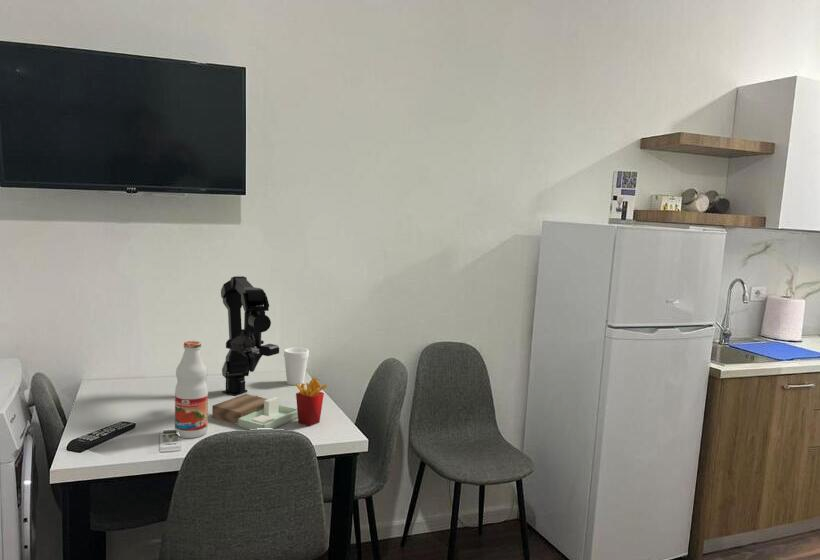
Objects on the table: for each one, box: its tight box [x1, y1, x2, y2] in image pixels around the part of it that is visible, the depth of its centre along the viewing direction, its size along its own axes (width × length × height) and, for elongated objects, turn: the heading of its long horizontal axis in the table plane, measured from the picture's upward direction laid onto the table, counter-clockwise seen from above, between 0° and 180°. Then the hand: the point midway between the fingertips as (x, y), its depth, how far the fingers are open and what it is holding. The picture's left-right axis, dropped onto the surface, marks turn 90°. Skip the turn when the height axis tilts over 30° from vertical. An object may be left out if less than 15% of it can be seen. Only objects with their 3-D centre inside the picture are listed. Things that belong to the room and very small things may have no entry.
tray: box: [237, 403, 298, 430], centre depth 214 cm, size 11×19×2 cm, turn 153°
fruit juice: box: [174, 340, 209, 439], centre depth 198 cm, size 9×9×28 cm
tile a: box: [264, 396, 280, 417], centre depth 219 cm, size 5×5×2 cm
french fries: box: [295, 377, 328, 427], centre depth 214 cm, size 9×8×15 cm
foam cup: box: [283, 347, 310, 386], centre depth 258 cm, size 10×9×13 cm
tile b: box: [251, 415, 274, 424], centre depth 209 cm, size 5×5×2 cm
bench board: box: [211, 393, 268, 425], centre depth 219 cm, size 12×16×4 cm
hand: (251, 371), depth 224 cm, fingers closed
